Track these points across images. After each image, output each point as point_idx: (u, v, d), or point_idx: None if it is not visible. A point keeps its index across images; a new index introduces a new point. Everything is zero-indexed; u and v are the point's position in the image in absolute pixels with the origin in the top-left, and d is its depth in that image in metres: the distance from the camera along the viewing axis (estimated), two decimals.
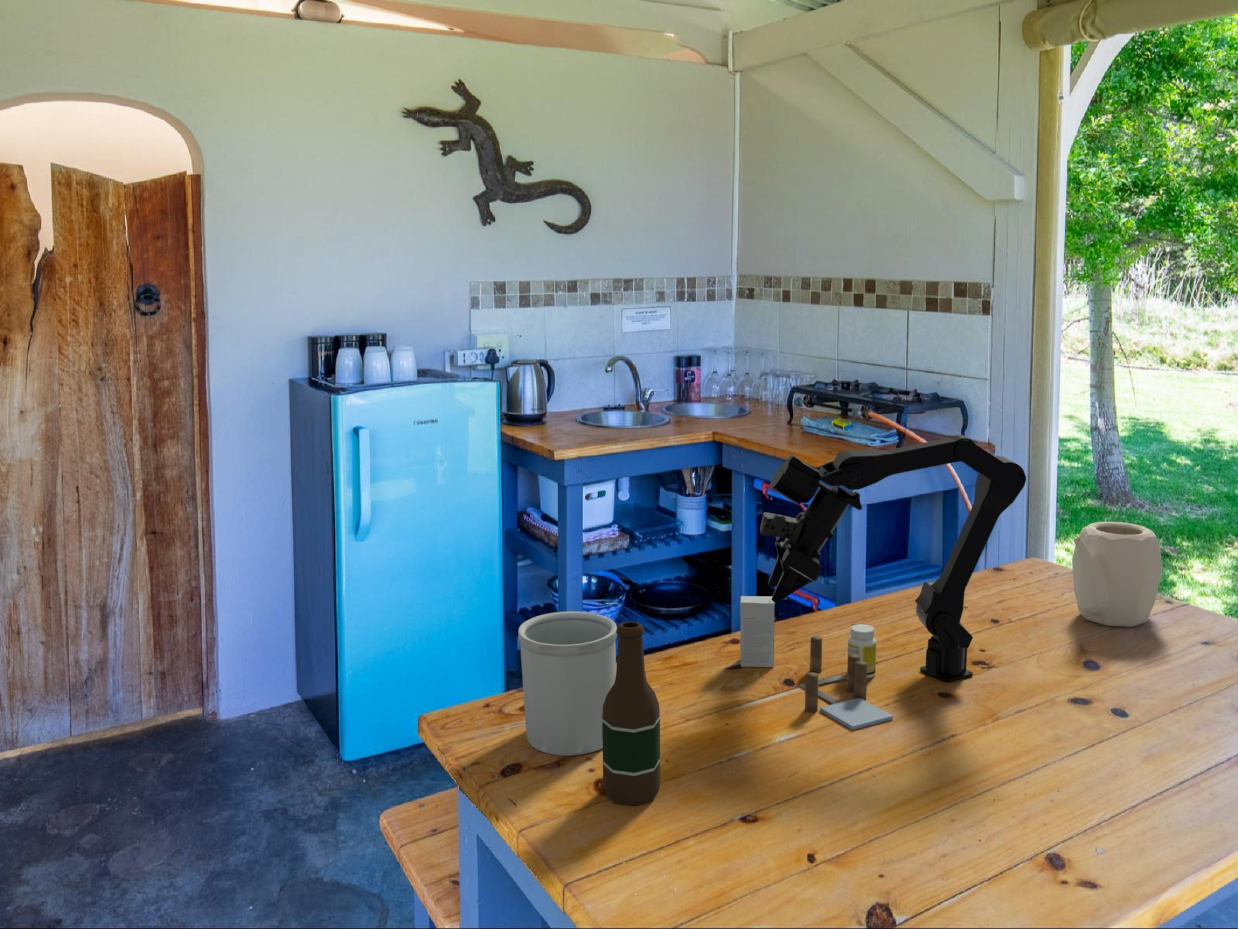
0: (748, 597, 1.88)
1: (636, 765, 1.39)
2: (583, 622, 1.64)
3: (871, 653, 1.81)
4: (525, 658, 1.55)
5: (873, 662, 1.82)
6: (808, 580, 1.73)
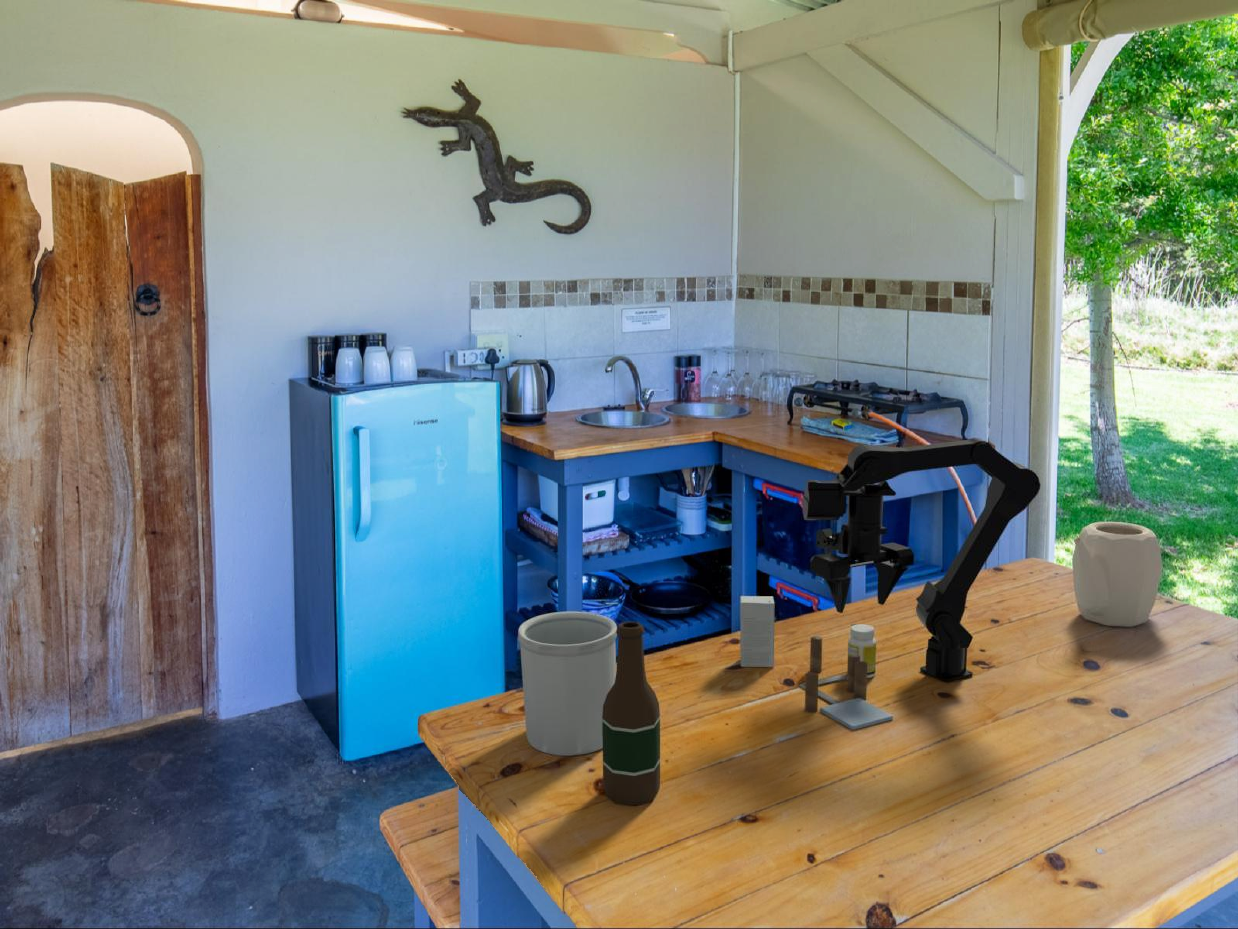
0: (748, 597, 1.88)
1: (636, 765, 1.39)
2: (583, 622, 1.64)
3: (871, 653, 1.81)
4: (525, 658, 1.55)
5: (873, 662, 1.82)
6: (834, 580, 1.75)
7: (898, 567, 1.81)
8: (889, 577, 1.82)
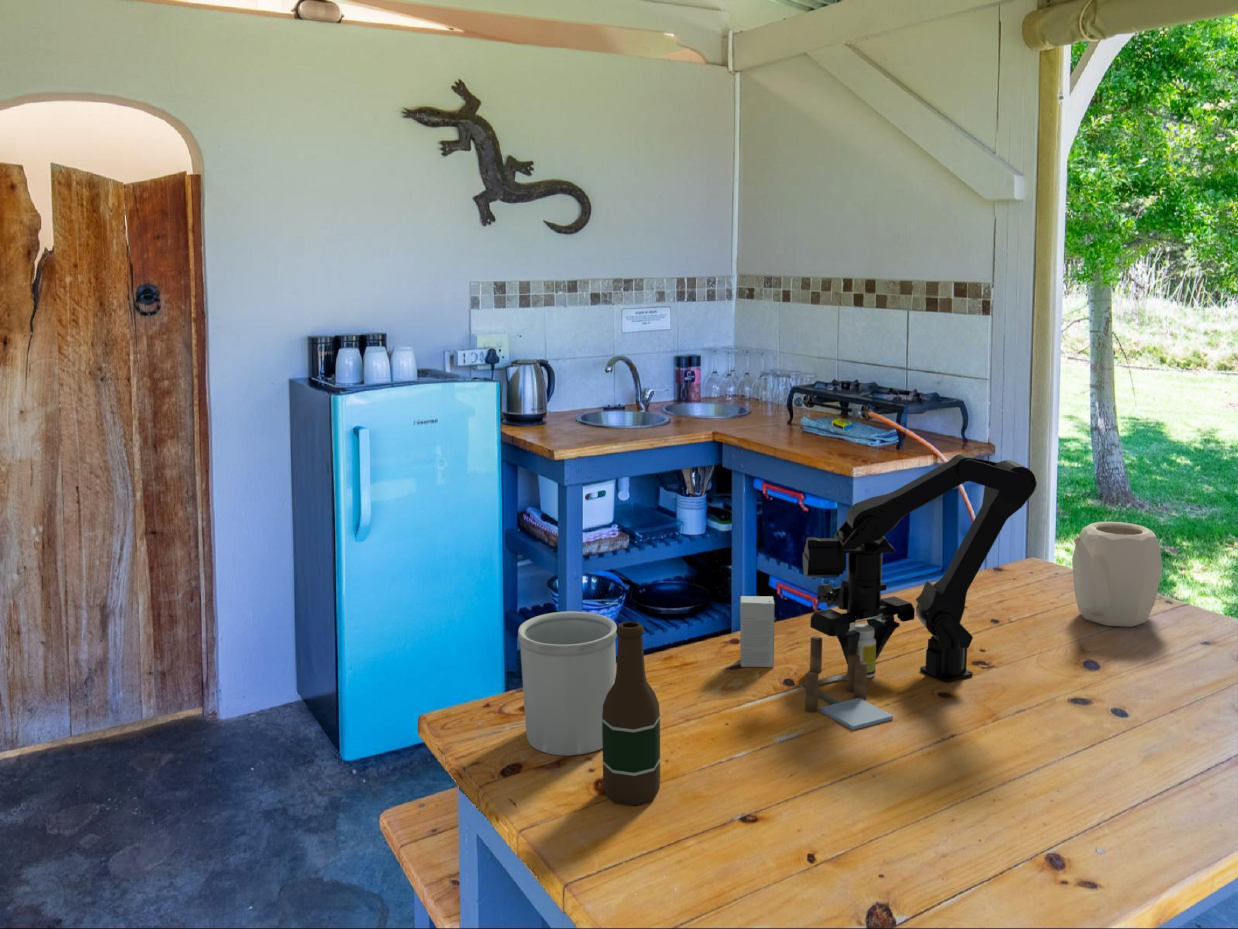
0: (748, 597, 1.88)
1: (636, 765, 1.39)
2: (583, 622, 1.64)
3: (871, 653, 1.81)
4: (525, 658, 1.55)
5: (873, 662, 1.82)
6: (843, 635, 1.78)
7: (889, 624, 1.82)
8: (880, 634, 1.83)
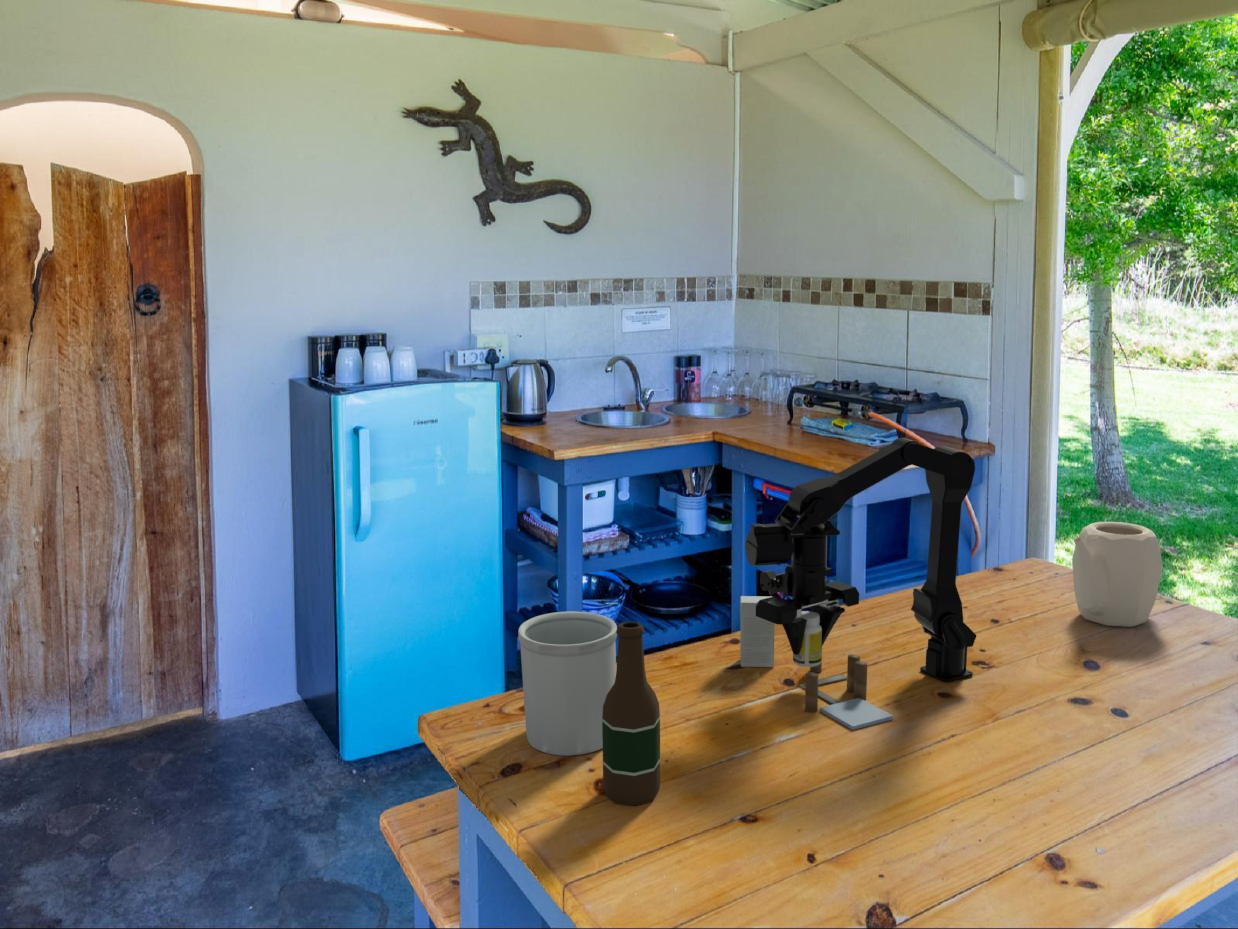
0: (748, 597, 1.88)
1: (636, 765, 1.39)
2: (583, 622, 1.64)
3: (817, 640, 1.75)
4: (525, 658, 1.55)
5: (819, 649, 1.75)
6: (790, 623, 1.71)
7: (835, 609, 1.76)
8: (826, 620, 1.77)
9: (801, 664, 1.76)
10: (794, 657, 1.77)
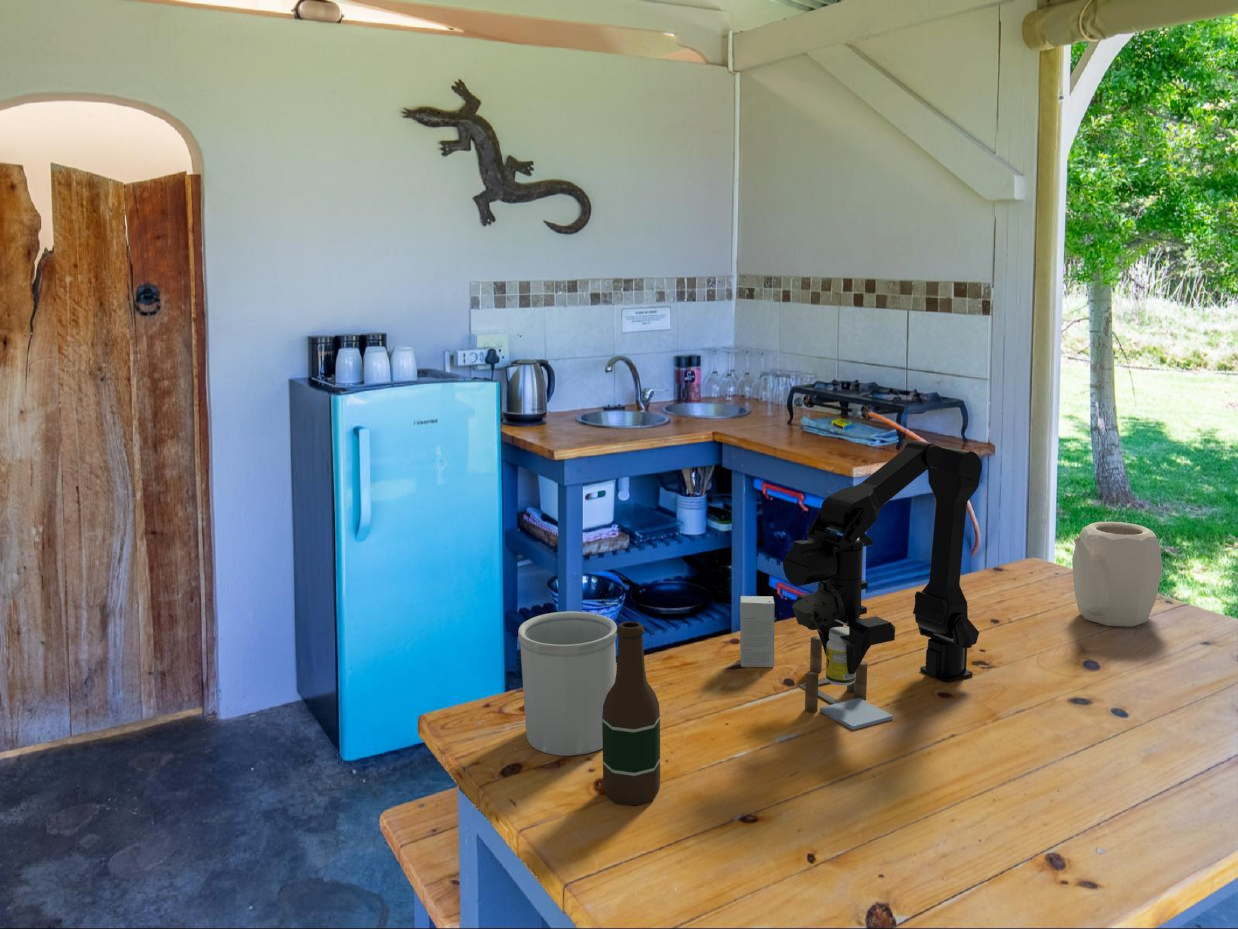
0: (748, 597, 1.88)
1: (636, 765, 1.39)
2: (583, 622, 1.64)
3: None
4: (525, 658, 1.55)
5: None
6: None
7: None
8: None
9: (853, 681, 1.68)
10: (846, 679, 1.67)
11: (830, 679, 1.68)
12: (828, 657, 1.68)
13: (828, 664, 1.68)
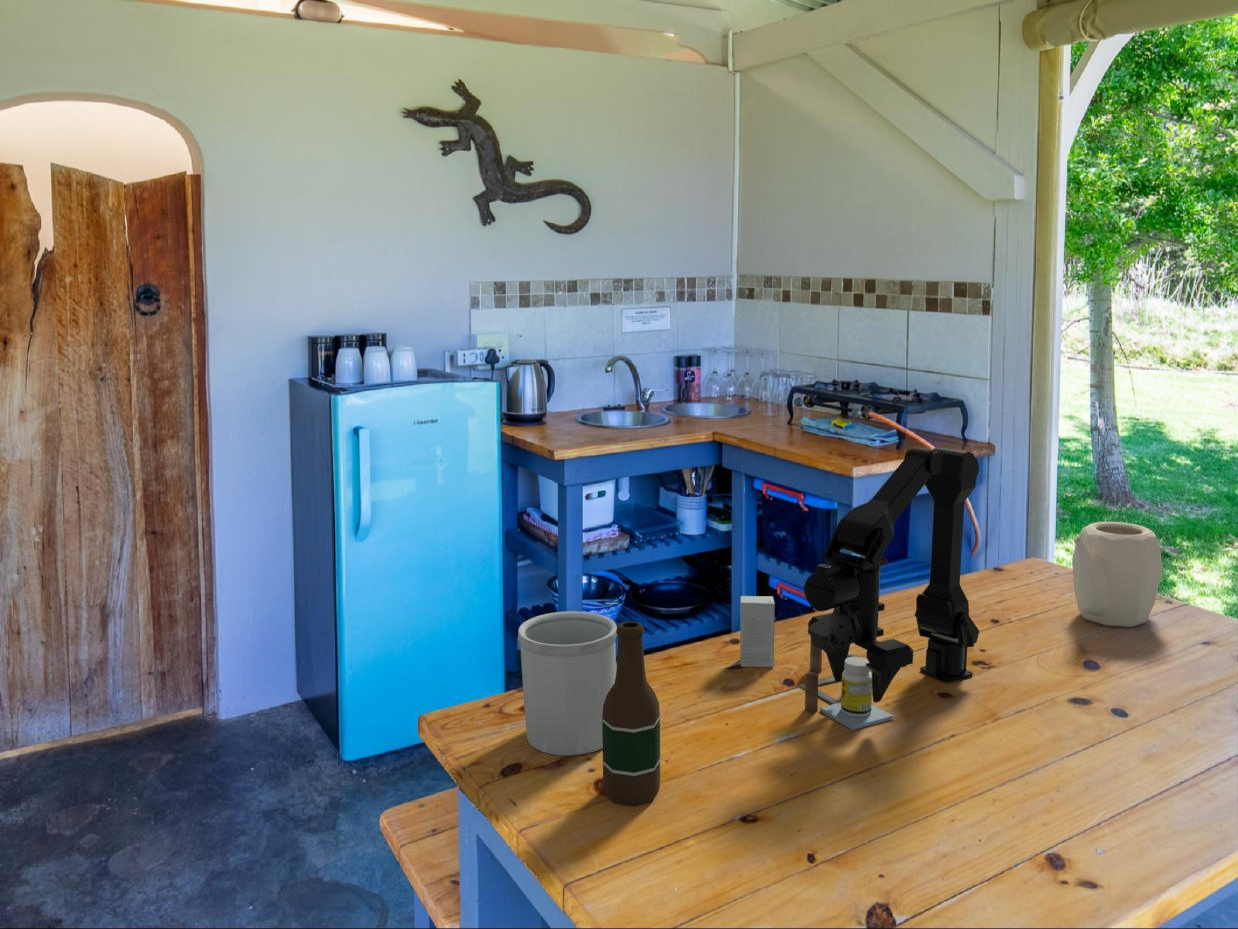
0: (748, 597, 1.88)
1: (636, 765, 1.39)
2: (583, 622, 1.64)
3: None
4: (525, 658, 1.55)
5: None
6: (904, 665, 1.59)
7: None
8: (844, 648, 1.70)
9: (869, 712, 1.66)
10: (862, 710, 1.65)
11: (846, 710, 1.66)
12: (844, 688, 1.65)
13: (844, 695, 1.66)
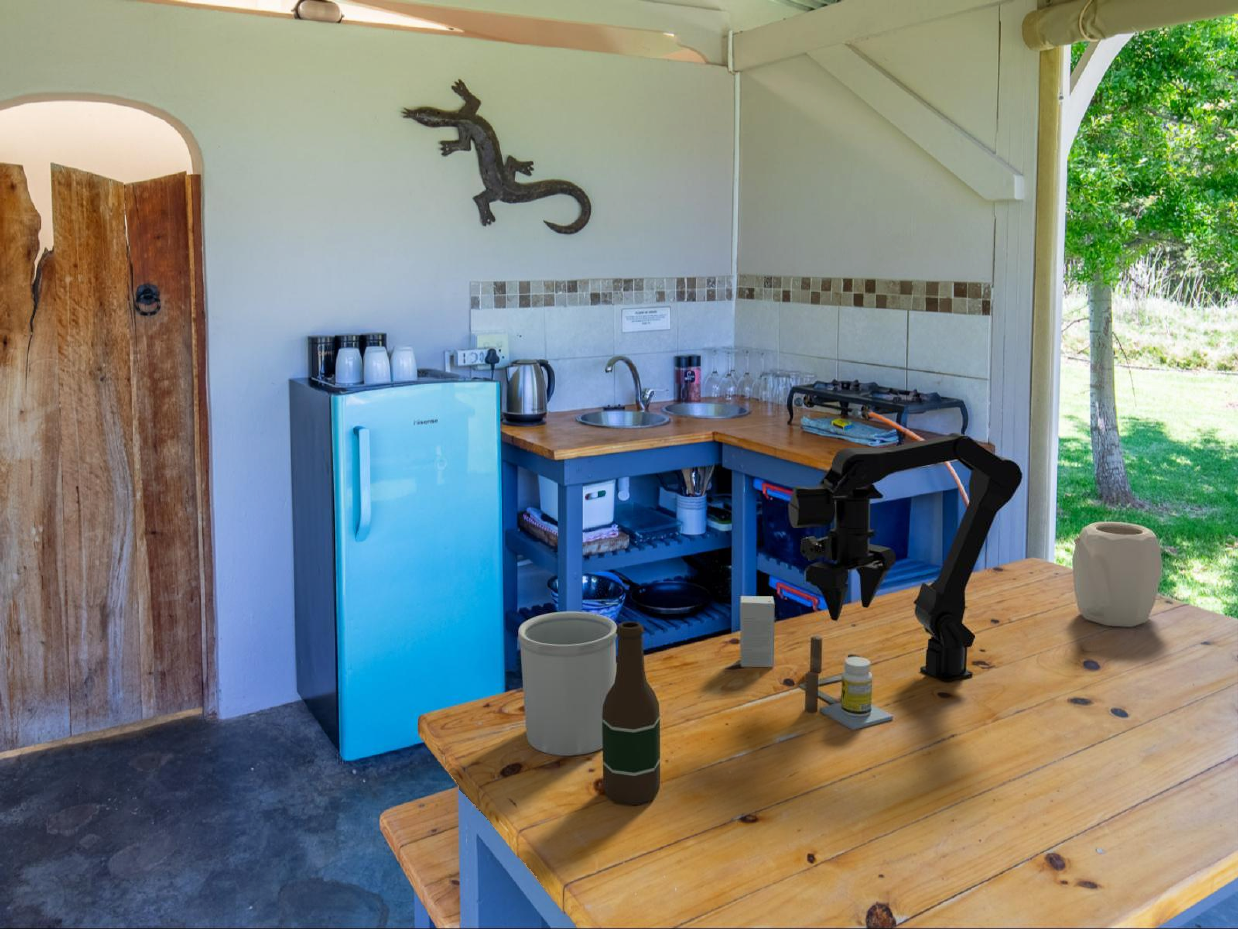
0: (748, 597, 1.88)
1: (636, 765, 1.39)
2: (583, 622, 1.64)
3: None
4: (525, 658, 1.55)
5: None
6: (834, 589, 1.71)
7: (882, 568, 1.81)
8: (874, 579, 1.81)
9: (869, 712, 1.66)
10: (862, 710, 1.65)
11: (846, 710, 1.66)
12: (844, 688, 1.65)
13: (844, 695, 1.66)
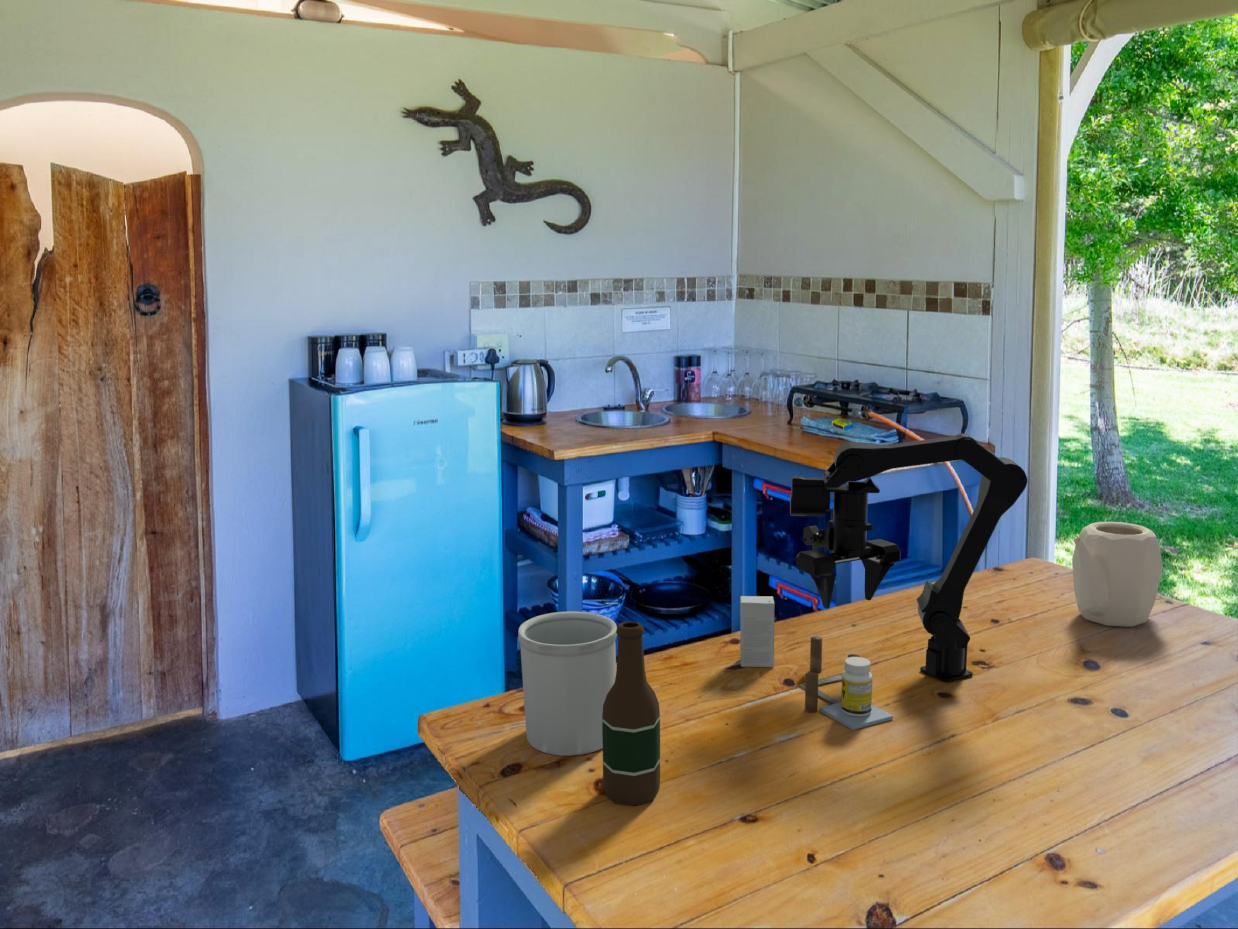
0: (748, 597, 1.88)
1: (636, 765, 1.39)
2: (583, 622, 1.64)
3: None
4: (525, 658, 1.55)
5: None
6: (819, 576, 1.77)
7: (884, 563, 1.83)
8: (875, 573, 1.84)
9: (869, 712, 1.66)
10: (862, 710, 1.65)
11: (846, 710, 1.66)
12: (844, 688, 1.65)
13: (844, 695, 1.66)
